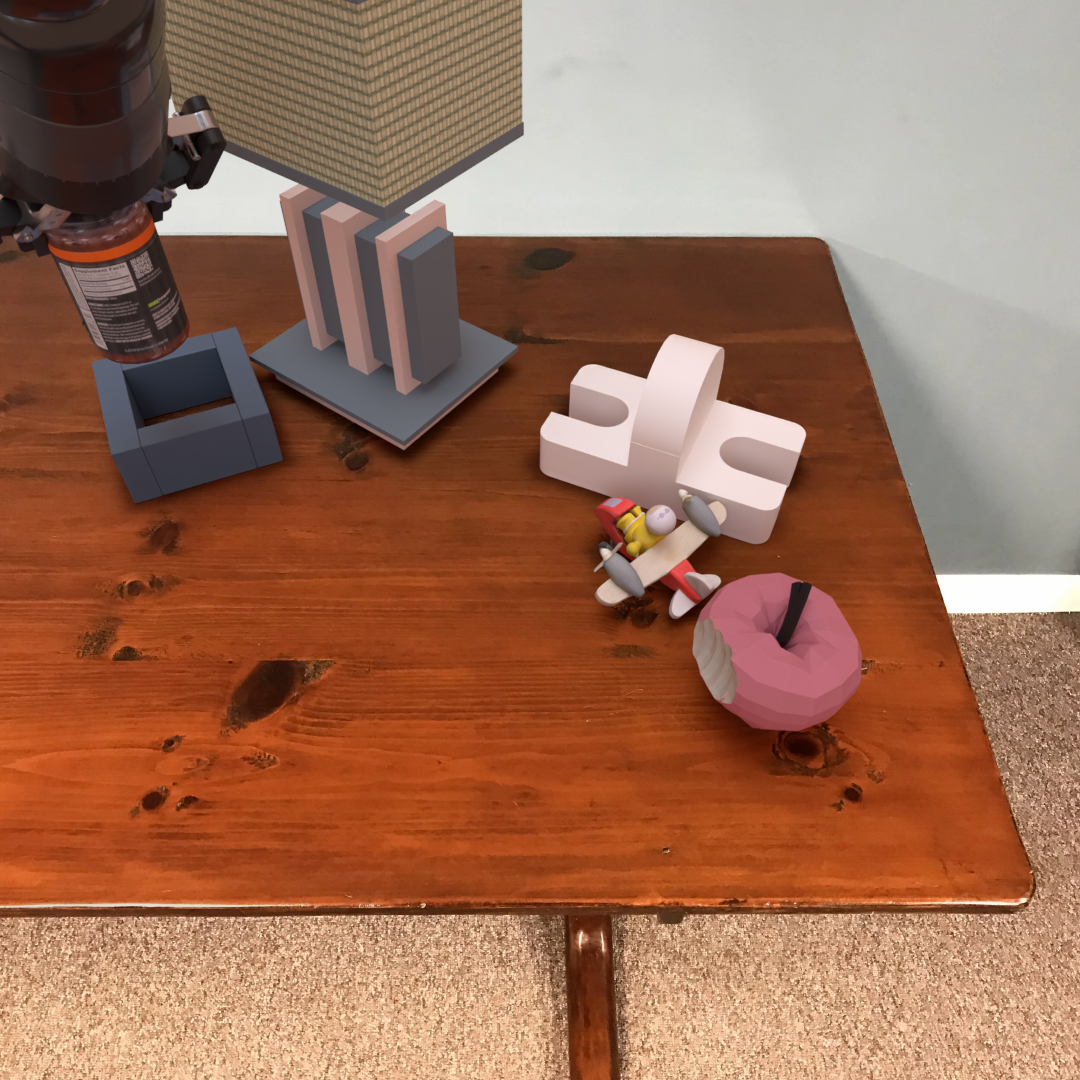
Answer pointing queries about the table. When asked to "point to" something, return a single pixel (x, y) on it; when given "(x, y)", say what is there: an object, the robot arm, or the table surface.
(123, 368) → the stand
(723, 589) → the apple
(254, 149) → the desk lamp
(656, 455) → the slotted arch bracket
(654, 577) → the toy airplane
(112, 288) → the supplement bottle
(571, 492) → the table surface
